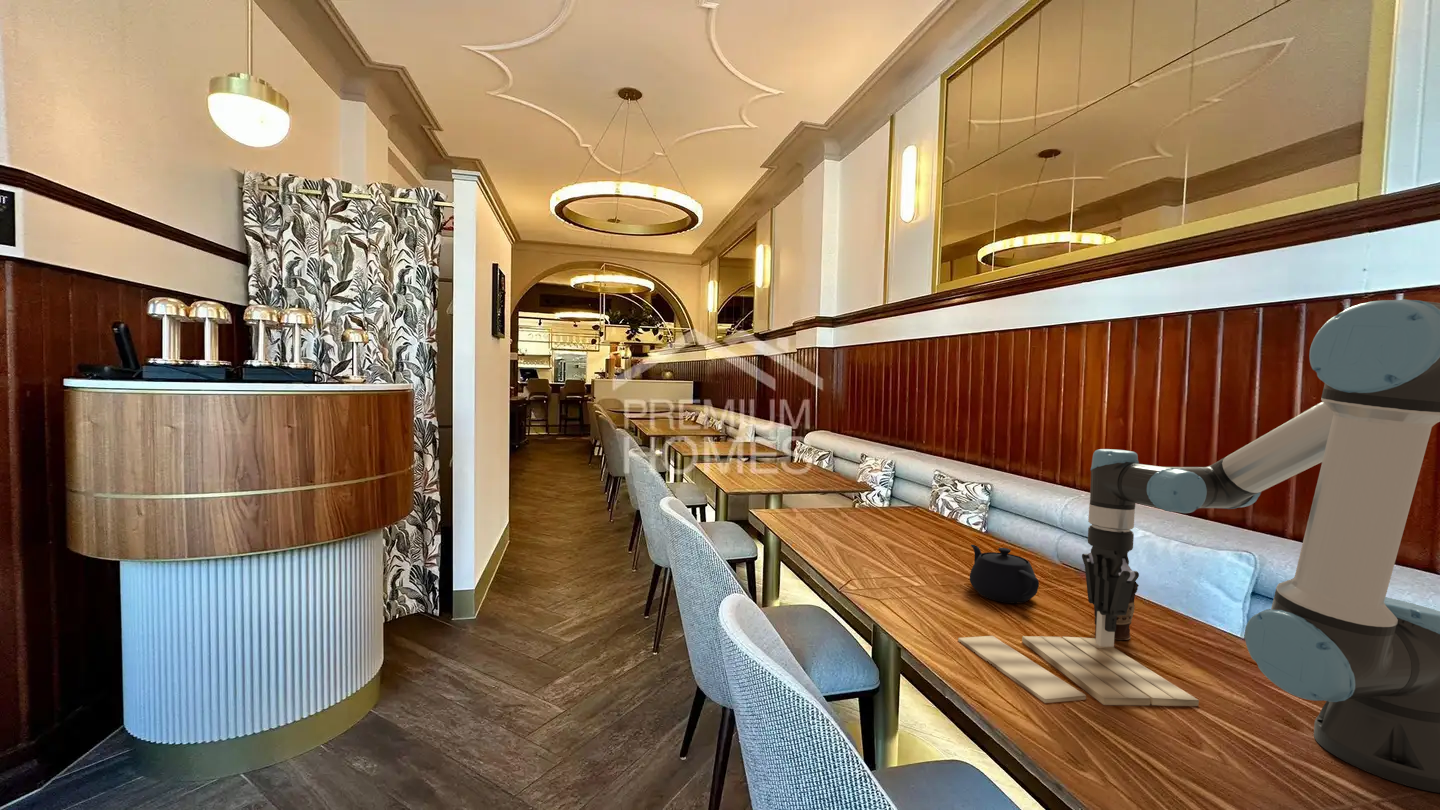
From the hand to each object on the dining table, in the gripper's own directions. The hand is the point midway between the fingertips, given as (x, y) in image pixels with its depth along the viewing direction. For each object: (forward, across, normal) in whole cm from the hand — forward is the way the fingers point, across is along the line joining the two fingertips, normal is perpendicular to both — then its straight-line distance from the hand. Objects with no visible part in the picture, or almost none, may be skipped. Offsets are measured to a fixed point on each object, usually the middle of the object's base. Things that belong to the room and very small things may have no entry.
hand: (1104, 644), depth 116 cm
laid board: (+2, -7, +10) cm, 12 cm away
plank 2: (+2, -7, +2) cm, 7 cm away
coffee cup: (+2, +9, -8) cm, 13 cm away
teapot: (+2, +33, +4) cm, 33 cm away
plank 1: (+2, -6, +22) cm, 22 cm away
